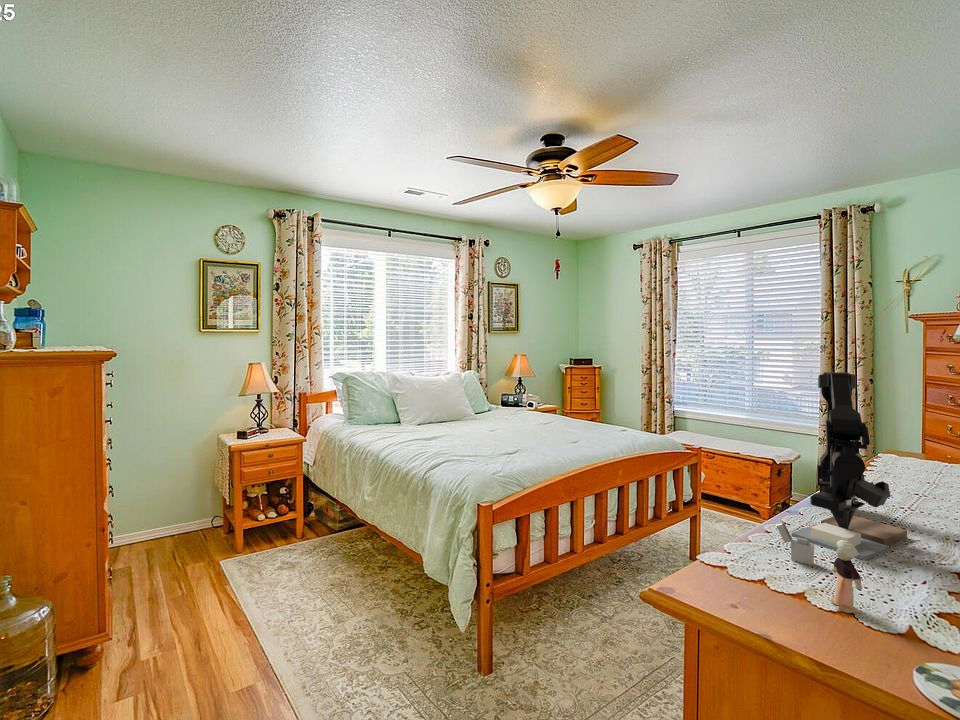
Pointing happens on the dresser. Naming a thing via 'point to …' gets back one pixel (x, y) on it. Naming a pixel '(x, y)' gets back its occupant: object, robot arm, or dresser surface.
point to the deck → (873, 530)
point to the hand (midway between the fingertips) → (844, 530)
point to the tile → (835, 534)
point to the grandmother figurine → (845, 577)
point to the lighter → (797, 546)
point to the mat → (864, 549)
